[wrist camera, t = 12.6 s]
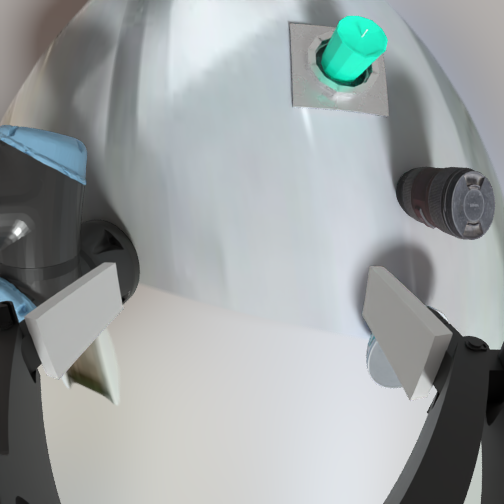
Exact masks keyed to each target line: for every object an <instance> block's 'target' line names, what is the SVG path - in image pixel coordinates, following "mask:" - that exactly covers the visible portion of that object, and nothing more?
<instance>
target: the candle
mask: <svg viewBox="0 0 504 504" xmlns="http://www.w3.org/2000/svg"><path fill="white" fill-rule="evenodd" d="M387 41H388V39H387V37H386V35H385V33H384V32H383V30H382V29H381V28H380V27H379V26H378V25H377V24H376V23H374V22H373V21H372V20H369V19H366V18H363V17H360V16H346V17H345V18H343V19H342V20H340V21H339V23H338V25H337V27H336V29H335V31H334V33H333V35H332V37H331V39H330V41H329V43H328V45H327V47H326V49H325V51H324V53H323V55H322V60H321V64H322V67H323V70H324V72H325V73H326V74H327V75H328V76H330V77H331V78H332V79H333V80H336V81H339V82H342V83H345V82H352V81H354V80H355V79H356V78H357V77H358V76H360V75H361V74H362V73H363V72H364V71H365V70H366V69H367V68H368V67H369V66H370V65H371V64H372V63H373V62H374V61H375V60H376V59H377V58H378V57H379V56H380V55H381V54H383V53H384V52H385V51H386V46H387Z"/></svg>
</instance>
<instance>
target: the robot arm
mask: <svg viewBox="0 0 504 504" xmlns="http://www.w3.org/2000/svg"><path fill="white" fill-rule="evenodd" d="M86 162H87V149H86V147H85V145H84V144H83V143H82V142H81V141H80V140H78V139H76V138H73V137H70V136H66V135H62V134H58V133H54V132H50V131H45V130H40V129H34V128H28V127H18V126H11V125H2V126H0V504H61V503H60V499H59V496H58V493H57V489H56V485H55V481H54V477H53V473H52V469H51V464H50V459H49V454H48V449H47V443H46V436H45V429H44V422H43V412H42V402H41V384H40V374H39V371H38V369H37V368H38V366H40V365H41V364H42V366H43V368H44V370H45V373H46V375H47V376H50V377H53V378H56V379H58V380H59V379H60V378H61V377H62V376H63V375H64V373H65V372H66V371H67V370H68V369H69V368H70V367H71V365H72V364H73V363H74V362H75V361H76V360H77V359H78V358H79V356H80V355H81V354H82V353H83V352H84V351H85V350H86V349H87V348H88V346H89V345H90V344H91V343H92V342H93V341H94V340H95V339H96V338H97V337H98V336H99V334H100V333H101V332H102V331H103V330H104V329H105V328H106V327H107V326H108V325H109V324H110V323H111V322H112V321H113V319H114V318H115V317H116V316H117V315H118V314H119V313H120V312H121V311H122V310H123V304H124V303H125V302H126V301H127V300H128V299H129V298H130V297H131V296H132V295H133V294H134V292H135V290H136V288H137V286H138V282H139V274H140V270H139V262H138V258H137V254H136V252H135V249H134V247H133V245H132V244H131V242H130V240H129V239H128V238H127V236H126V235H125V234H124V233H123V232H122V231H121V230H120V229H119V228H117V227H116V226H115V225H113V224H111V223H109V222H106V221H102V220H91V221H88V222H85V223H82V224H81V218H82V204H83V194H84V186H85V185H86V180H85V174H86ZM362 316H363V318H364V319H365V321H366V323H367V324H368V326H369V328H370V330H371V331H372V333H373V335H374V336H375V338H376V340H377V342H378V343H379V345H380V347H381V349H382V350H383V352H384V354H385V356H386V357H387V359H388V361H389V363H390V364H391V366H392V368H393V370H394V372H395V374H396V375H397V377H398V379H399V381H400V383H401V385H402V387H403V388H404V390H405V392H406V394H407V395H408V398H409V400H410V401H412V400H417V399H421V398H426V397H427V396H428V394H429V392H430V390H431V388H432V386H433V385H434V386H435V388H436V389H437V393H436V395H435V398H434V400H433V402H432V404H431V405H430V407H429V410H428V411H427V413H428V416H427V419H426V421H425V424H424V426H423V428H422V431H421V433H420V436H419V438H418V440H417V442H416V444H415V447H414V449H413V451H412V453H411V455H410V457H409V459H408V461H407V463H406V465H405V467H404V469H403V471H402V473H401V475H400V476H399V478H398V480H397V482H396V483H395V485H394V487H393V489H392V490H391V492H390V494H389V495H388V497H387V499H386V500H385V502H384V503H383V504H463V503H464V500H465V498H466V495H467V491H468V489H469V486H470V482H471V479H472V476H473V472H474V468H475V464H476V461H477V456H478V452H479V448H480V442H481V444H482V494H481V504H504V342H503V345H502V347H501V350H490V349H489V346H488V345H487V344H486V342H484V341H483V340H481V339H479V338H476V337H472V336H464V337H463V336H462V335H461V334H460V333H459V332H458V331H457V330H456V329H455V328H454V327H453V326H452V325H451V324H448V321H447V320H446V319H444V317H443V316H442V315H440V314H439V313H438V312H437V311H436V310H434V309H432V308H430V307H426V306H425V305H424V304H423V303H422V302H421V301H420V300H419V299H418V298H417V297H416V296H415V295H414V294H413V293H412V292H410V291H409V290H408V289H407V288H406V287H405V286H404V285H403V284H402V283H401V282H400V281H399V280H398V279H396V278H395V277H394V276H393V275H392V274H391V273H390V272H389V271H388V270H387V269H385V268H384V267H383V266H369V273H368V281H367V288H366V294H365V301H364V307H363V313H362Z"/></svg>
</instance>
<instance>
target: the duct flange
mask: <svg viewBox="0 0 504 504" xmlns="http://www.w3.org/2000/svg"><path fill="white" fill-rule="evenodd" d="M335 29H336V28H335V27H327V26H318V25H306V24H290V41H291V63H292V93H293V108H311V109H325V110H337V111H347V112H356V113H363V114H371V115H378V116H384V117H388V116H389V110H388V95H387V84H386V74H385V65H384V57H383V54H381V55H380V56H379V57H378V58H377V59H376V60H375V61H374V62H373V63H372V64H371V65H370V66H369V67H368V68H367V69H366V70H365V71H364V72H363V73H362V74H361V75H360V76H358V77H357V78H356V79H355V80H354V81H352V82H345V83H342V82H339V81H336V80H333V79H332V78H331V77H330V76H328V75H327V74H326V73H325V72H324V70H323V67H322V64H321V60H322V55H323V53H324V51H325V49H326V47H327V45H328V43H329V41H330V39H331V37H332V35H333V33H334V31H335Z"/></svg>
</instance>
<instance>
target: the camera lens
mask: <svg viewBox="0 0 504 504" xmlns="http://www.w3.org/2000/svg"><path fill="white" fill-rule="evenodd" d="M396 194H397V199H398V202H399V204H400V206H401V207H402V209H403V210H404V211H405V212H406V213H407V214H408V215H409V216H410V217H412V218H414V219H415V220H417V221H419V222H421V223H424V224H425V225H426V226H428V227H431V228H433V229H434V228H436V227H437V228H438V229H440V230H442V231H443V232H445V233H447V234H450V235H452V236H455V237H457V238H460V239H469V240H474V239H478V238H480V237H482V236H483V235H484V234H485V233H486V232H487V230H488V229H489V227H490V225H491V223H492V220H493V217H494V212H495V197H494V192H493V189H492V186H491V184H490V182H489V181H488V179H487V178H486V177H485V176H484V175H483V174H482V173H480V172H477V171H474V170H472V169H469V168H458V167H449V168H433V167H421V168H415V169H412V170H410V171H409V172H407V173H405V174H404V175H403V176H402V177H401V178H400V180H399V182H398V184H397V190H396Z"/></svg>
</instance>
